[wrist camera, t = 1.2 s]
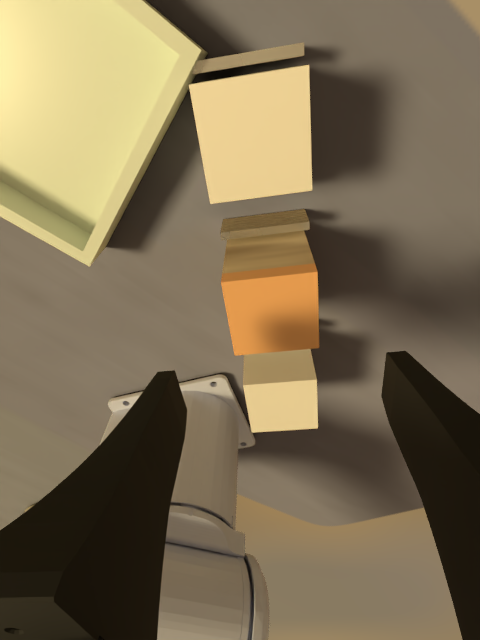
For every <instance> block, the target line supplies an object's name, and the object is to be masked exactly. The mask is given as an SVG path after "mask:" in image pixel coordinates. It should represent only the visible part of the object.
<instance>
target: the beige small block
mask: <svg viewBox="0 0 480 640" xmlns="http://www.w3.org/2000/svg"><path fill="white" fill-rule="evenodd" d="M243 388H244V393H245V399H246V404H247V410H248V415H249V421H250V426H251V432H252V433H254V432H269V431H285V430H300V429H316V428H318V407H317V378H316V373H315V368H314V364H313V359H312V354H311V349H303V350H292V351H281V352H270V353H258V354H247V355H244V373H243Z"/></svg>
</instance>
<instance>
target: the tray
mask: <svg viewBox="0 0 480 640" xmlns="http://www.w3.org/2000/svg"><path fill="white" fill-rule="evenodd" d="M207 54H208V53H207V52H206V51H205V50H204V49H203V48H202V47H200V46H199V45H198V44H197V43H196V42H194V41H193V40H192V39H191V38H190V37H189V36H187V35H186V34H185V33H184V32H183V31H181V30H180V29H179V28H178V27H177V26H175V25H174V24H173V23H172V22H171V21H170V20H168V19H167V18H166V17H165V16H164V15H162V14H161V13H160V12H159V11H158V10H157V9H155V8H154V7H153V6H152V5H151V4H149V3H148V2H147V1H146V0H0V216H1V217H2V218H4V219H6V220H8V221H10V222H11V223H13V224H15V225H17V226H18V227H20V228H22V229H24V230H25V231H27V232H29V233H31V234H33V235H34V236H36V237H38V238H40V239H41V240H43V241H45V242H47V243H48V244H50V245H52V246H54V247H56V248H57V249H59V250H61V251H63V252H64V253H66V254H68V255H70V256H72V257H73V258H75V259H77V260H79V261H80V262H82V263H84V264H86V265H87V266H89V267H90V265H91V264H92V263H93V262H94V261H95V259H96V258H97V257H98V256H99V255H100V253H101V252H102V251H103V250H104V249H105V247H106V246H107V244H108V242H109V240H110V238H111V236H112V234H113V232H114V230H115V228H116V227H117V225H118V223H119V221H120V219H121V217H122V215H123V213H124V211H125V209H126V208H127V206H128V204H129V202H130V200H131V198H132V196H133V194H134V192H135V190H136V189H137V187H138V185H139V183H140V181H141V179H142V177H143V175H144V173H145V171H146V170H147V168H148V166H149V164H150V162H151V160H152V158H153V156H154V154H155V152H156V151H157V149H158V147H159V145H160V143H161V141H162V139H163V137H164V135H165V134H166V132H167V130H168V128H169V126H170V124H171V122H172V120H173V118H174V116H175V115H176V113H177V111H178V109H179V107H180V105H181V103H182V101H183V99H184V97H185V96H186V94H187V92H188V90H189V85H190V84H192V82H193V80H194V78H195V77H196V75H197V74H193V73H192V71H193V69H194V67H195V65H196V63H197V61H199V60H204V59H205V58H206V56H207Z"/></svg>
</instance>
